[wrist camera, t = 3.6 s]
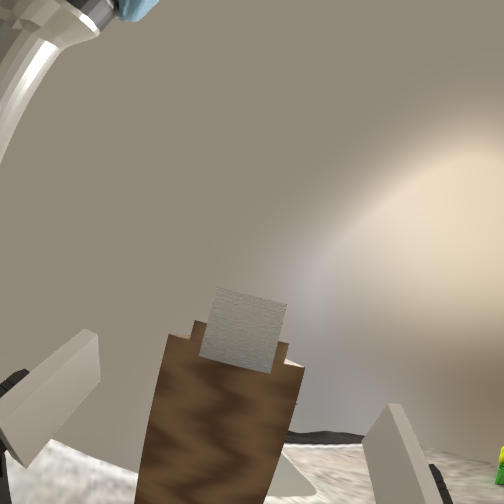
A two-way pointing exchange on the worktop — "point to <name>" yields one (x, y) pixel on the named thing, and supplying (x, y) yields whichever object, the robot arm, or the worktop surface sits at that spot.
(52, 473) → the worktop surface
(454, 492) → the worktop surface
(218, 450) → the column
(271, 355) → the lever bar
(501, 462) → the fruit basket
